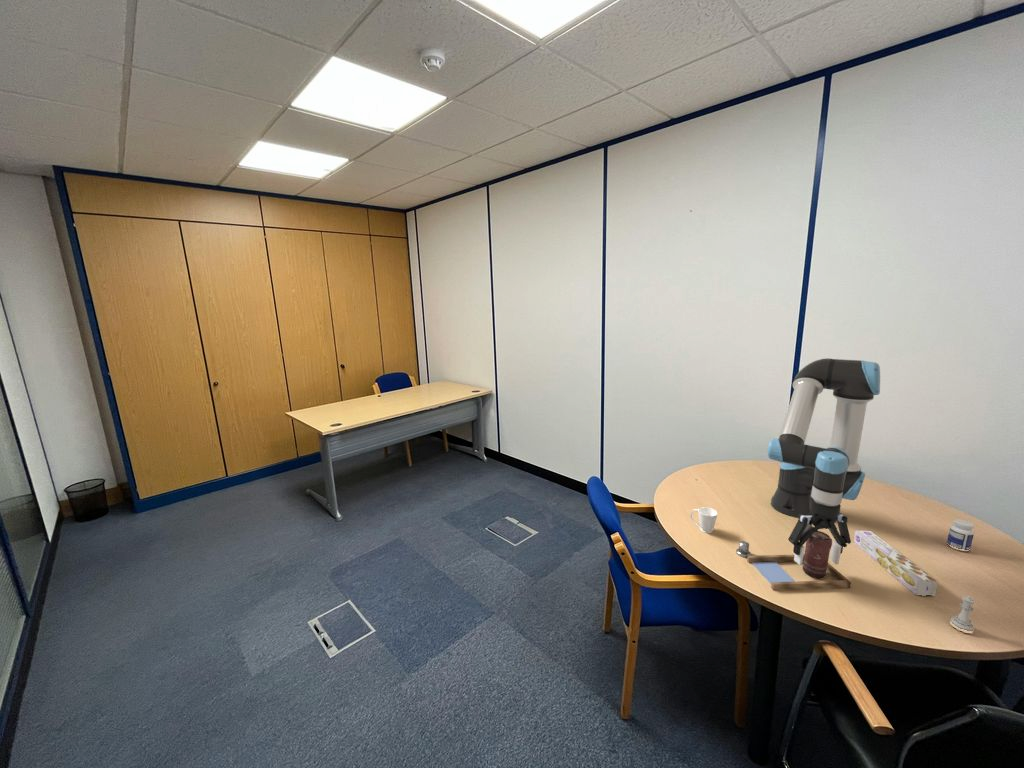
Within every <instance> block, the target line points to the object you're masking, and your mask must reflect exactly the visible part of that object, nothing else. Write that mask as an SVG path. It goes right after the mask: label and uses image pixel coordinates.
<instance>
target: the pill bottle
mask: <svg viewBox="0 0 1024 768" xmlns="http://www.w3.org/2000/svg"><path fill="white" fill-rule="evenodd" d="M952 523H953V524H952V525H950V526H949V529H948V530H949V531H948V535H947V539H946V540H947V541H946V544H947V543H948V544H949V545H951V546H953V547H956V548H958V549H964V550H969V549H970V550H971V548H972V545H973V540H974V535H975V531H974V530H973V529H974V523H972V522H971V521H968V520H964V519H960V518H956V519H954V520H953V522H952Z"/></svg>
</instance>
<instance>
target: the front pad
mask: <svg viewBox="0 0 1024 768" xmlns="http://www.w3.org/2000/svg"><path fill="white" fill-rule="evenodd" d="M751 565H753V567H755V568H756V569H757V570H758V572H759V573H760V574H761V576H763V577H764V578H765V579H766V580H767V582H768V583H769V584H770V585H771V583H772V582H796V580H794V578H793V577H791V575H790V574H789V573H788V572H787V571H786V570H785V569H784V568H783V567H781V565H780V564H778V562H754V563H751Z"/></svg>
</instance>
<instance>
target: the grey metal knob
mask: <svg viewBox="0 0 1024 768" xmlns="http://www.w3.org/2000/svg"><path fill="white" fill-rule="evenodd" d="M738 545H739V546H738V548H736V552H735V553H736V554H737V555H738V556H739V557H742V558H744V559H747V557H748V556H752V555H751V551H750V550H749V549H750V543H749V542H747V541H744V540H741V541H739V543H738Z"/></svg>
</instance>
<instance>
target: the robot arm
mask: <svg viewBox="0 0 1024 768" xmlns="http://www.w3.org/2000/svg"><path fill="white" fill-rule="evenodd" d="M792 388H793V392H792V395H791V398H790V402H789V405H788V407H787V411H786V413H785V418H784V421H783V423H782V426H781V430H780V433H779V436H778V438H771V439H770V441H769V442H768V445H767V453H766V454H767V457H768V458H769V459H771V460H773V461H776V462H780V465H779V476H778V482H777V488H776V490H775V492H774V494H773V495H772V497H771V499H770V506H771V507H772V509H774V510H775V511H777V512H779V513H782V514H784V515H787V516H791V517H795V518H797V519H798V520H797V522H796V523H795V525H794V528H793V529H792V531H791V533H790V535H789V536H788V539H787V541H789V542H790V543H791V544H792V545H793V549H792V551H793V554H794V555H795V556H794V561H795V563H796V564H797V565H799V566H803V555H804V554H805V548H806V546H804V544H806V541H807V540H808V539H809V538H810V536H811V535H812V534H813V533H814V532H816V531H820V530H824V529H825V530H826V529H827V530H829V532H830V534H831V535H832V537H833V539H834V540H835V541H834V540H832V546H831V549H830V553H829V561H831V562H833V563H834V564H835V565H839V564H840V558H841V554H843V550H844V548H847V546H848V545H850V544H851V543H852V540H851V535H850V531H849V527H848V520H849V519H848V516H845V514H843V513H841V511H840V510H841V504H842V500H843V499H844V500H848V501H855V500H857V499H858V496H859V494H860V491H861V489H862V488H863V487H862V486H863V483H864V480H865V478H866V473H865V472H864V471H862V466H861V465H860V464H859V463H858V459H859V458H858V457H859V452H860V447H861V440H862V434H863V429H864V428H863V427H864V422H865V416H866V411H867V404H868V403H870V402H871V401H873V400H874V398H875V396H879V395H880V393H881V366H880V365H879V363H877V362H874V361H866V360H858V359H857V360H856V359H839V358H821V359H817V360H813V361H812V362H810V363H808V364H807V365H805V366H804V367H803V368H801V369H800V370H799V372H797V374H796V375H795V377H794V378H793V382H792ZM824 390H832V391H833V392H832V396H833V397H834V398H835V399H836V406H835V412H834V417H833V418H834V419H833V426H832V432H831V438H830V446H829V447H826V448H825V447H820V446H815V445H809V444H805V443H806V439H807V436H808V432H809V428H810V425H811V421H812V417H813V415H814V411H815V408H816V403H817V400H818V397H819V395H820V394H821V393H823V391H824ZM835 523H837V526H838V527H837V526H836V524H835ZM838 530H839V531H838Z"/></svg>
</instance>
